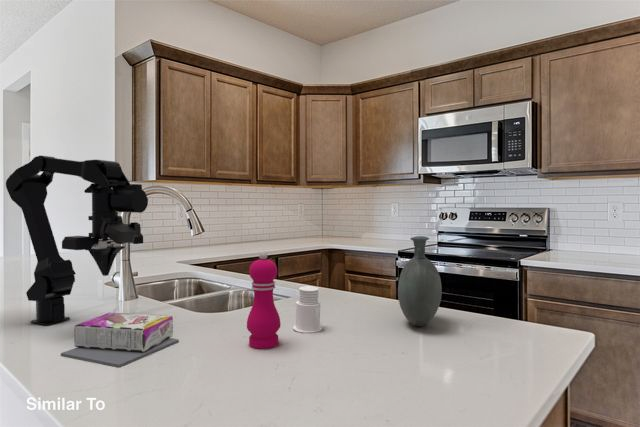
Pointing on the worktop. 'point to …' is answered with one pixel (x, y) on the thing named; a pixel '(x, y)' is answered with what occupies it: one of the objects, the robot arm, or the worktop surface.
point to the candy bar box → (124, 331)
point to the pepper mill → (263, 305)
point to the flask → (419, 286)
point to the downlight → (308, 311)
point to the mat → (114, 354)
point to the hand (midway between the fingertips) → (105, 275)
